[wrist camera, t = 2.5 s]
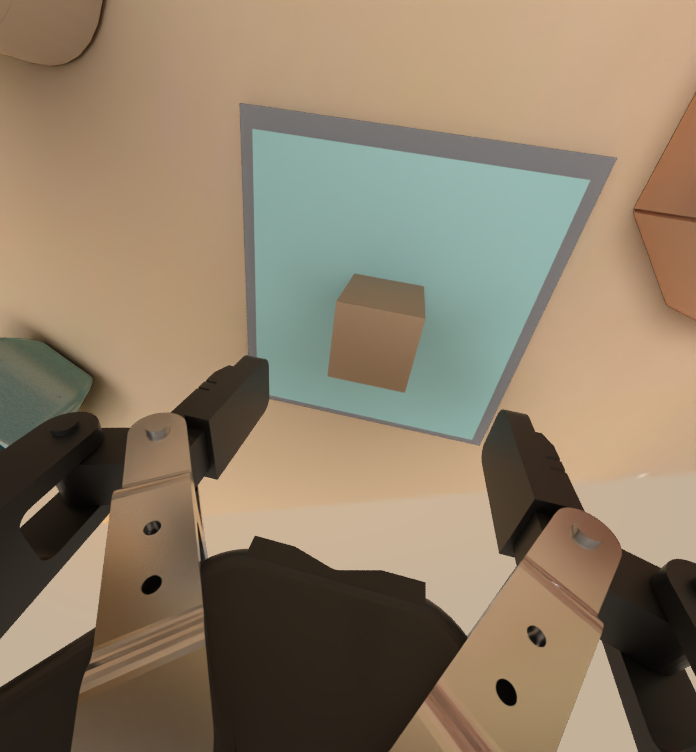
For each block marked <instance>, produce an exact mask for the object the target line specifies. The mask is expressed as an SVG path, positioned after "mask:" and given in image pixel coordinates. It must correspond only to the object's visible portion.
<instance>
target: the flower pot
mask: <svg viewBox="0 0 696 752" xmlns="http://www.w3.org/2000/svg"><path fill="white" fill-rule="evenodd" d="M92 383H93V379H92V377H91V376H90V375H89V374H87V373H86V372H84V371H83V370H81V369H80V368H79V367H77V366H76V365H74V364H73V363H71V362H70V361H69V360H67V359H66V358H64V357H63V356H62V355H60V354H59V353H58V352H56V351H55V350H53V349H52V348H51V347H49V346H48V345H46V344H45V343H43V342H41V341H38V340H31V339H21V338H0V452H1V451H2V450H4V449H5V448H7V447H8V446H9V445H11V444H12V443H14V442H15V441H17V440H18V439H20V438H21V437H23V436H24V435H25V434H27V433H28V432H30V431H31V430H33V429H34V428H36V427H37V426H39V425H40V424H42V423H43V422H45V421H47V420H49V419H51V418H53V417H56V416H59V415H62V414H66V413H72V412H78V410H79V408H80V407H81V405H82V403H83V401H84V399H85V397H86V395H87V394H88V392H89V390H90V388H91V385H92Z"/></svg>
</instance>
